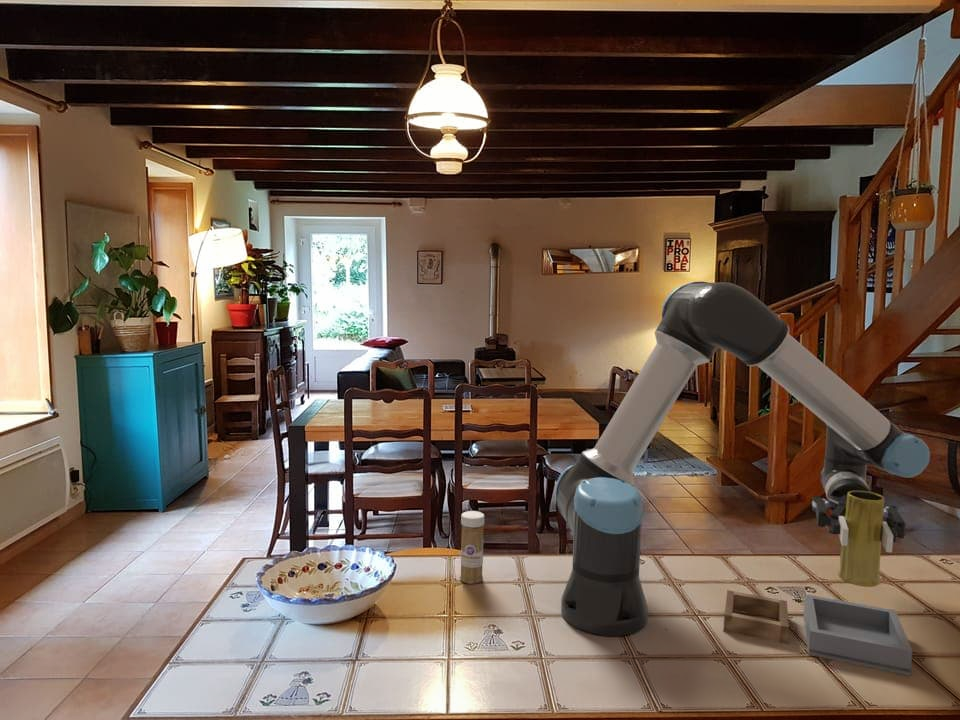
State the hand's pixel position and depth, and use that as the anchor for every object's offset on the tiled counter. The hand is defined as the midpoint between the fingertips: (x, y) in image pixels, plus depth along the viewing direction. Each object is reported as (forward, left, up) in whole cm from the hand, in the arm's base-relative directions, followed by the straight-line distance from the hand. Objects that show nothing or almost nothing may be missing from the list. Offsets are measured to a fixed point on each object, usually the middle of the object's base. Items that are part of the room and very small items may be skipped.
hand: (867, 540), depth 104 cm
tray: (0, +5, -20) cm, 20 cm away
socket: (-15, +5, -20) cm, 25 cm away
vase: (0, +5, -9) cm, 10 cm away
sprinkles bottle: (-67, 0, -20) cm, 70 cm away
